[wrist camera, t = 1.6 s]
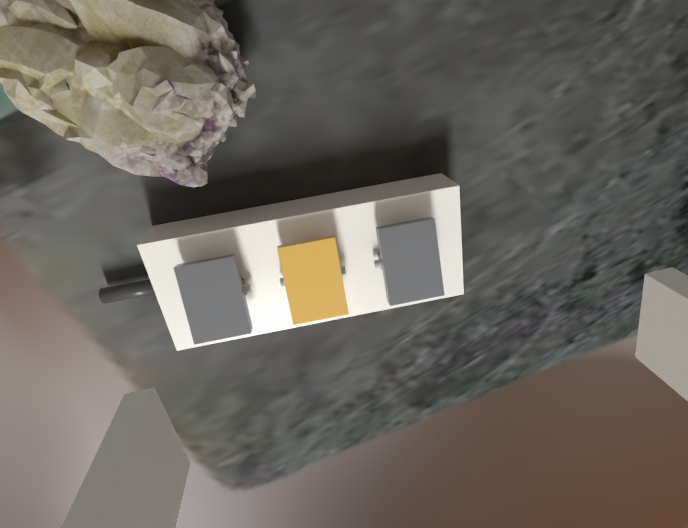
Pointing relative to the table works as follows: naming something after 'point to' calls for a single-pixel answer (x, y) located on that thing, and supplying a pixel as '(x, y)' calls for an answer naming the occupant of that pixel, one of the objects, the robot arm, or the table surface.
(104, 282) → the table surface
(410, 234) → the block
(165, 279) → the white rocker switch box
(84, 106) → the geode
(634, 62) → the table surface
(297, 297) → the amber rocker
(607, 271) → the table surface
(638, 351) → the robot arm
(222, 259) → the block
